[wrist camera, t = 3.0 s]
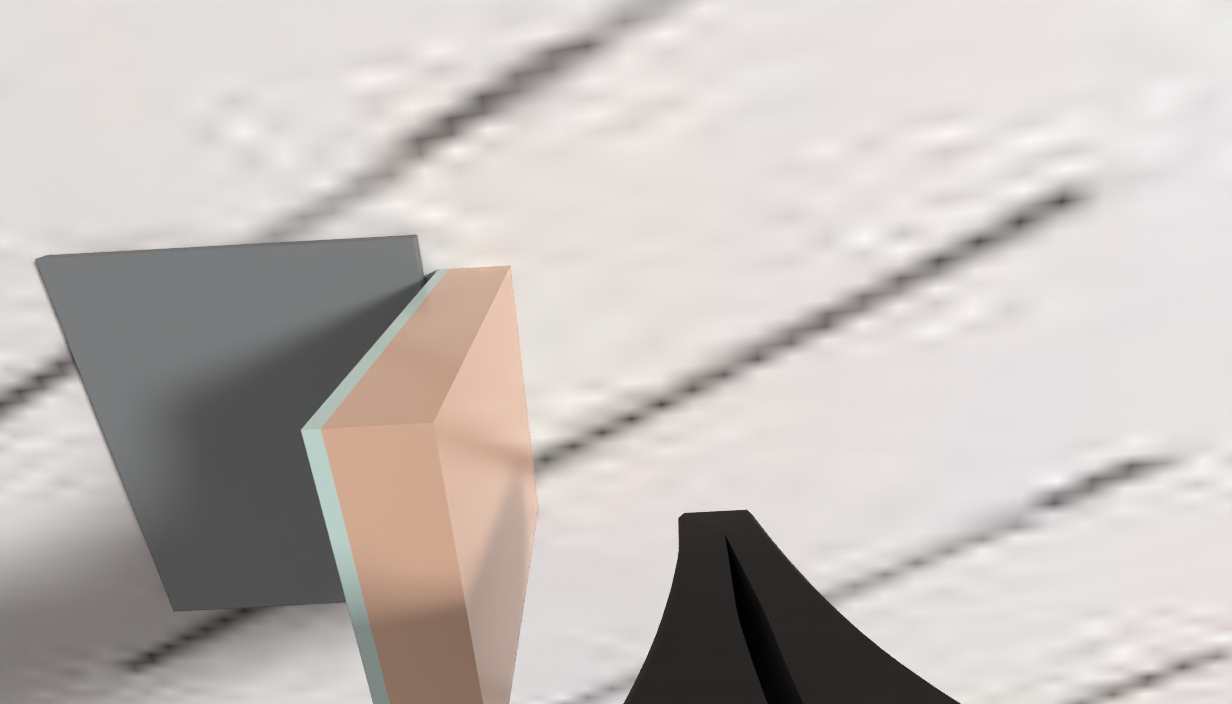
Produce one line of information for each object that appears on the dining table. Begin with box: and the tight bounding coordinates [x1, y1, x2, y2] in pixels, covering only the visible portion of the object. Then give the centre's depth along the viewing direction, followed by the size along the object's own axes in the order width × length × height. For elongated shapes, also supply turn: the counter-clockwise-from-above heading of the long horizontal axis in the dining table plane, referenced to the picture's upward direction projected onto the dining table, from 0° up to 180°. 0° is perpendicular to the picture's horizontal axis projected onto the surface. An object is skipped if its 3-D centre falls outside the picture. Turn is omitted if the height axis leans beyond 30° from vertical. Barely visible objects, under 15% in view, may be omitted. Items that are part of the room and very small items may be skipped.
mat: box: [35, 235, 425, 611], centre depth 20 cm, size 12×10×1 cm
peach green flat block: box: [301, 266, 539, 704], centre depth 16 cm, size 8×2×9 cm, turn 3°
